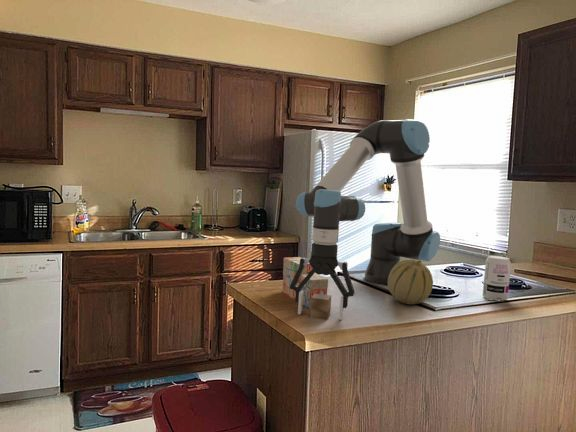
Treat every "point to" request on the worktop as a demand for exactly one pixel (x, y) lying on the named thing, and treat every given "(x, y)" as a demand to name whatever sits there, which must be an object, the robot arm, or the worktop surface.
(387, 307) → the worktop surface
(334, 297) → the worktop surface
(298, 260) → the stack of blocks
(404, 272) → the cantaloupe
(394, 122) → the robot arm
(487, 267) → the supplement can
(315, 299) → the walnut block
